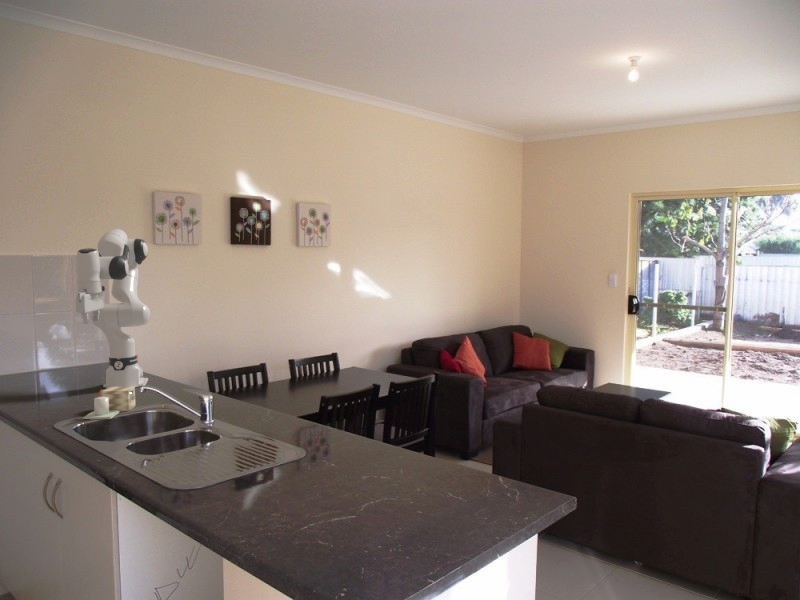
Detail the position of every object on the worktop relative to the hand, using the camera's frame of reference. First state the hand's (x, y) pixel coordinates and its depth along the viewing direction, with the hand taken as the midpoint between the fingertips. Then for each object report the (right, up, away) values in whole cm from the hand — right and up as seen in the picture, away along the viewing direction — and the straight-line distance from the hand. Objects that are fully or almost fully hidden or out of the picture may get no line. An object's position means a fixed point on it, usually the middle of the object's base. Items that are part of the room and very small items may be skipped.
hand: (91, 322), depth 255 cm
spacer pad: (+12, -35, -16) cm, 41 cm away
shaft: (+13, -32, -6) cm, 36 cm away
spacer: (+12, -34, -16) cm, 40 cm away
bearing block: (+14, -34, -6) cm, 38 cm away
